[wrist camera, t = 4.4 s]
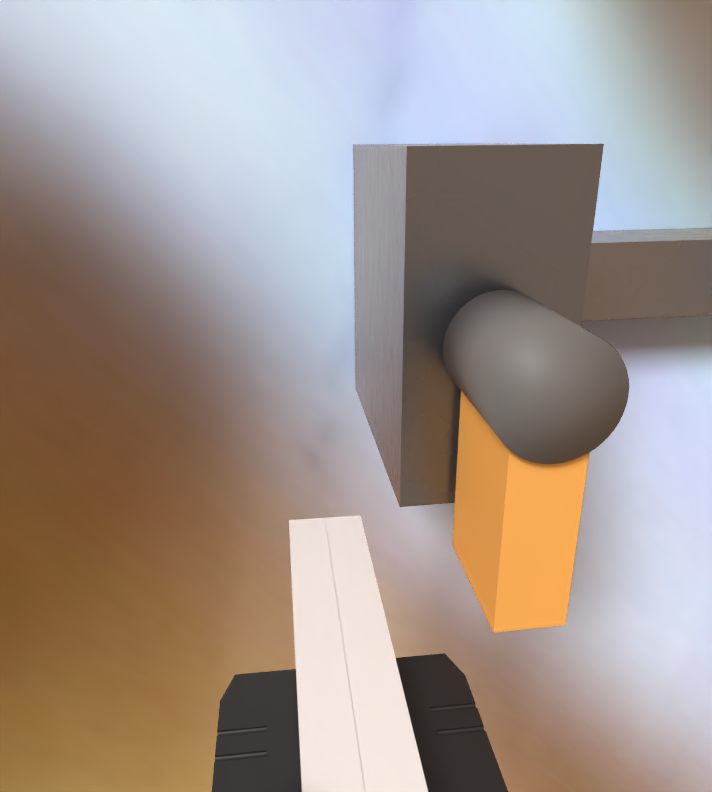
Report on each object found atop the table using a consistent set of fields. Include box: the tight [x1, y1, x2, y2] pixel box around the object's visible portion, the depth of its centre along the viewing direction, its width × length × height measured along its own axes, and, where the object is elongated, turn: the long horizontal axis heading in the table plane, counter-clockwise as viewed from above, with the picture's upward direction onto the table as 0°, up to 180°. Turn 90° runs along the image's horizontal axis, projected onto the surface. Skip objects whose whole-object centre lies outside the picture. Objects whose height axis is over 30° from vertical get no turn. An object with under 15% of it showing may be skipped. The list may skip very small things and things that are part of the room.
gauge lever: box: [443, 290, 629, 633], centre depth 13 cm, size 2×6×3 cm, turn 1°
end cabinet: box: [353, 144, 604, 507], centre depth 18 cm, size 4×8×8 cm, turn 1°
